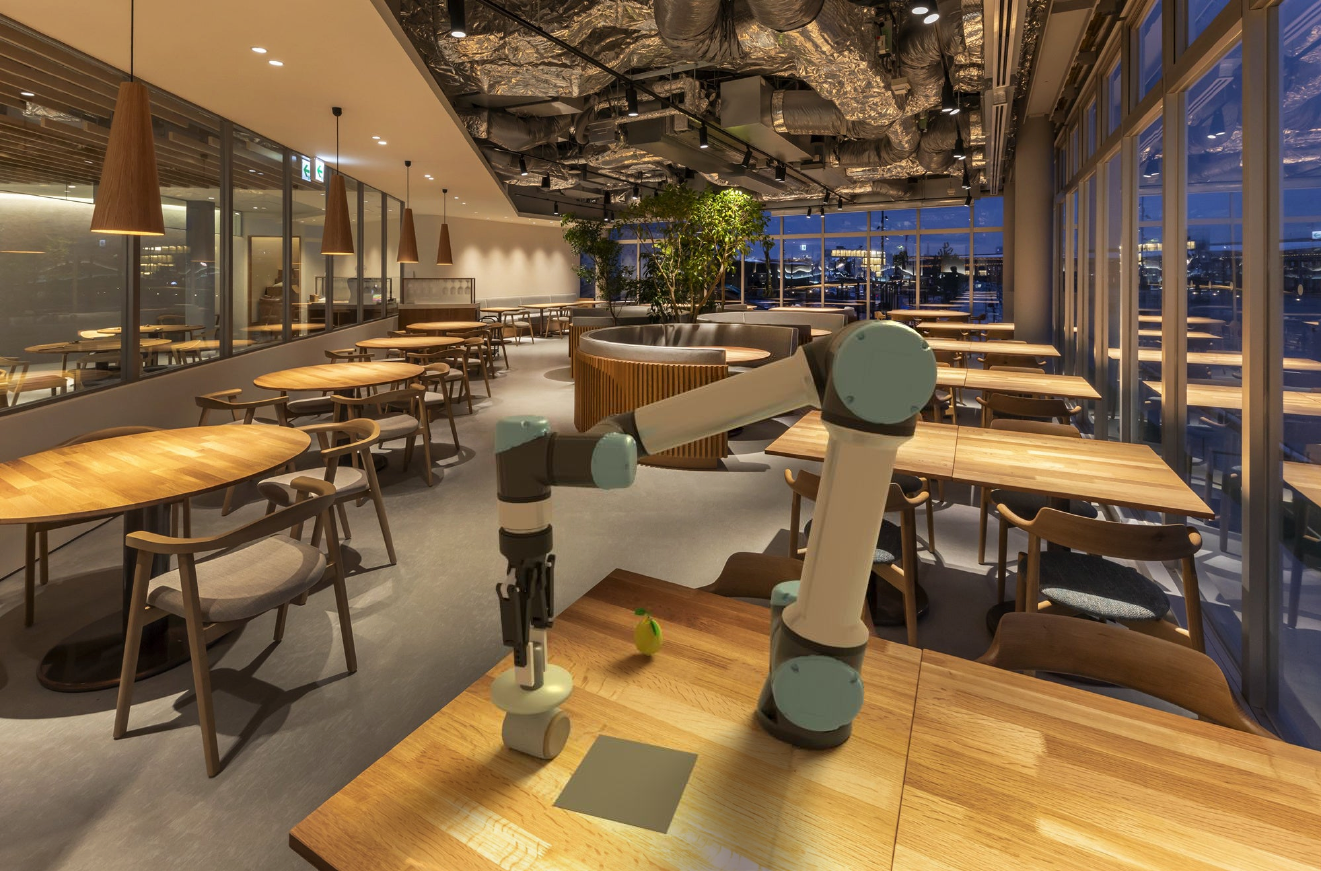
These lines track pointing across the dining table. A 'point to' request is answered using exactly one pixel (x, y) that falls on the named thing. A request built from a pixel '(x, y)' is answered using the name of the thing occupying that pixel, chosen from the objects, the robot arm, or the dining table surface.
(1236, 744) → the dining table surface
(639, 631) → the lemon
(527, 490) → the robot arm
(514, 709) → the lid
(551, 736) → the ceramic mug
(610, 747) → the mat
